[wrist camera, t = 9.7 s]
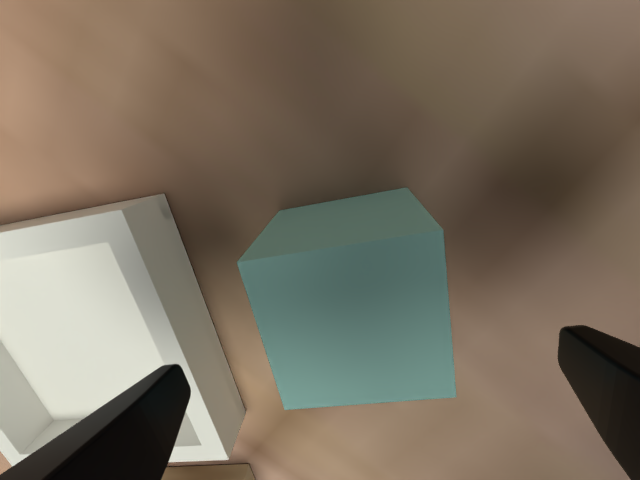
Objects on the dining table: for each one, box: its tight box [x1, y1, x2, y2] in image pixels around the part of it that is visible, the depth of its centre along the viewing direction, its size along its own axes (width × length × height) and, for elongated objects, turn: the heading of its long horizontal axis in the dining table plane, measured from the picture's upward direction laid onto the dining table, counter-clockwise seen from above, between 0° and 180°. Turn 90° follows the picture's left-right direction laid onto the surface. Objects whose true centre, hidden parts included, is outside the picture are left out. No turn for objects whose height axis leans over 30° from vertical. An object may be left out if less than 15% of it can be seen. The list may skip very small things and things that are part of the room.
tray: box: [0, 193, 246, 467], centre depth 14 cm, size 12×12×2 cm
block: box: [237, 187, 456, 410], centre depth 11 cm, size 5×5×5 cm
